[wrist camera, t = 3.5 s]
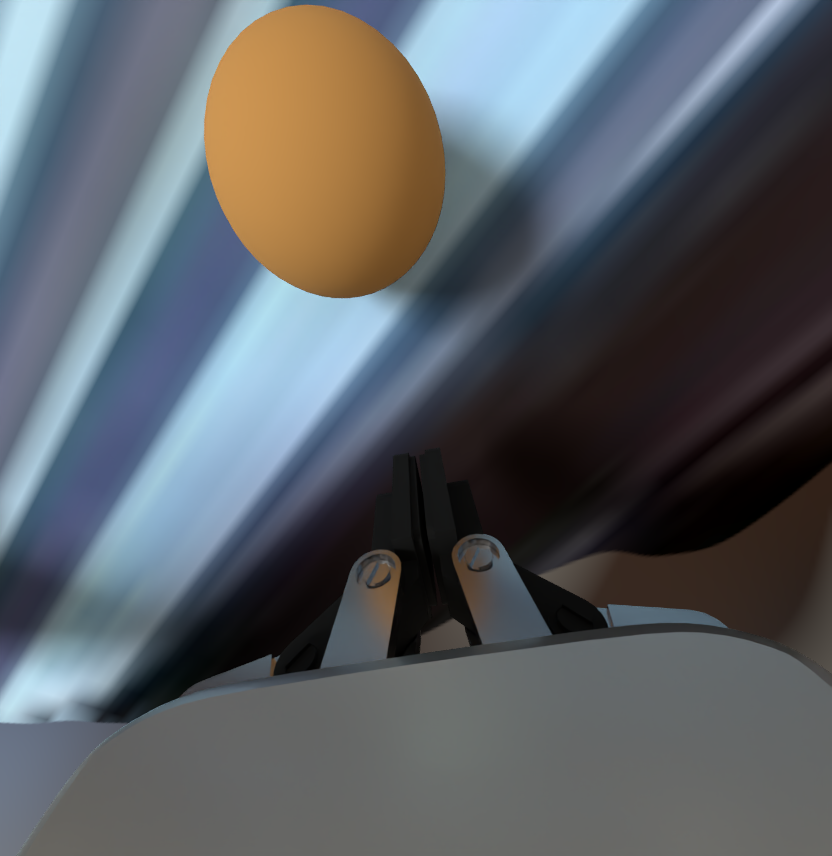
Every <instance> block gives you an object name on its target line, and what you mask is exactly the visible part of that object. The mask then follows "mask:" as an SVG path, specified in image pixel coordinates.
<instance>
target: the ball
mask: <svg viewBox="0 0 832 856" xmlns="http://www.w3.org/2000/svg"><path fill="white" fill-rule="evenodd" d="M204 140H205V150H206V159H207V164H208V169H209V173H210V178H211V181H212V184H213V187H214V190H215V193H216V196H217V198H218V201H219V203H220V205H221V208H222V210H223V212H224V214H225V216H226V217H227V219H228V221H229V223H230V225H231V226H232V228H233V230H234V232H235V233H236V234H237V236H238V237H239V239H240V240H241V241H242V243H243V244H244V246H245V247H246V248H247V249H248V250H249V251H250V252H251V254H252V255H253V256H254V257H255V258H256V259H257V260H258V261H259V262H260V263H261V264H262V265H263V266H265V267H266V268H267V269H268V270H269V271H271V272H272V273H273V274H275V275H276V276H277V277H279V278H280V279H282V280H284V281H286V282H287V283H289V284H291V285H293V286H295V287H297V288H299V289H302V290H304V291H306V292H309V293H312V294H316V295H319V296H324V297H331V298H353V297H361V296H364V295H368V294H372V293H374V292H377V291H379V290H381V289H384V288H386V287H387V286H389V285H391V284H392V283H394V282H396V281H397V280H398V279H399V278H401V277H402V276H403V275H404V274H405V273H407V272H408V271H409V269H410V268H411V267H412V266H413V265H414V264H415V263H416V262H417V260H418V259H419V258H420V256H421V255H422V254H423V252H424V251H425V249H426V247H427V245H428V243H429V242H430V240H431V238H432V236H433V233H434V231H435V228H436V226H437V223H438V219H439V216H440V212H441V208H442V203H443V197H444V190H445V157H444V149H443V143H442V137H441V133H440V129H439V125H438V122H437V118H436V114H435V112H434V109H433V106H432V104H431V101H430V99H429V96H428V94H427V92H426V90H425V88H424V86H423V84H422V83H421V81H420V79H419V77H418V75H417V74H416V72H415V71H414V70H413V68H412V67H411V65H410V64H409V62H408V61H407V59H406V58H405V57H404V56H403V55H402V54H401V53H400V51H399V50H398V49H397V48H396V47H395V46H394V45H393V44H392V43H391V42H390V41H389V40H388V39H386V38H385V37H384V36H383V35H382V34H381V33H380V32H378V31H377V30H376V29H374V28H373V27H371V26H370V25H368V24H366V23H365V22H363V21H362V20H360V19H359V18H356V17H354V16H352V15H350V14H348V13H345V12H343V11H340V10H336V9H333V8H329V7H325V6H315V5H299V6H290V7H286V8H282V9H279V10H276V11H273V12H270V13H268V14H267V15H265V16H263V17H261V18H259V19H257V20H256V21H254V22H253V23H252V24H251V25H249V26H248V27H247V28H246V29H244V30H243V31H242V32H241V33H240V34H239V35H238V37H237V38H236V39H235V40H234V41H233V42H232V44H231V45H230V46H229V47H228V49H227V51H226V52H225V54H224V56H223V57H222V59H221V61H220V62H219V65H218V67H217V69H216V72H215V74H214V77H213V79H212V82H211V86H210V90H209V94H208V97H207V103H206V111H205V121H204Z"/></svg>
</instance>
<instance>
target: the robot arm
mask: <svg viewBox="0 0 832 856" xmlns="http://www.w3.org/2000/svg"><path fill="white" fill-rule="evenodd" d="M420 466H421V477H422V486H421V482H420V477H419V472H418V468H417V463H416V458H415V456H412V457H409V453H406V454H400V455H395V456H393V484H392V493H386V494H381V495H377V498H376V508H375V519H374V530H373V541H372V551H371V552H369V553H366V554H365V555H363V556H362V557H360V558H359V559H358V560H357V561H356V563H355V564H354V565H353V567H352V569H351V571H350V574H349V578H348V581H347V584H346V587H345V590H344V594H342V595H341V596H340V597H339V598H338V599H337V600H336V601H335V602H334V603H333V604H332V605H331V606H330V607H329V608H328V609H326V610H325V611H324V612H323V613H322V614H321V615H320V616H319V617H318V618H317V619H316V620H315V621H314V622H313V623H311V624H310V625H309V626H308V627H307V628H306V629H305V630H304V631H303V632H302V633H301V634H300V635H299V636H298V637H297V638H295V639H294V640H293V641H292V642H291V643H290V644H289V645H288V646H287V647H286V649H285V650H284V651H283V652H282V653H281V655H280V656H278V657H275V658H274V657H273V656H272V654H271V655H269V656H266V657H264V658H261V659H258V660H256V661H253V662H251V663H248V664H245V665H243V666H240V667H238V668H235V669H232V670H230V671H227V672H225V673H222V674H220V675H217V676H214V677H212V678H209V679H207V680H204V681H201V682H199V683H197V684H196V685H194V686H192V687H190V688H189V689H188V690H187V691H186V692H185V693H183V694H182V695H181V696H180V697H179V698H178V699H176V700H173V701H171V702H169V703H166V704H164V705H162V706H159V707H157V708H155V709H154V710H152V711H150V712H148V713H146V714H144V715H142V716H141V717H139V718H137V719H135V720H133V721H132V722H130V723H129V724H127V725H126V726H124V727H122V728H121V729H119V730H118V731H117V732H115V733H114V734H112V735H111V736H110V737H108V738H107V739H106V740H104V741H103V742H102V743H101V744H100V745H99V746H98V747H97V748H96V749H94V750H93V751H92V753H90V755H89V756H88V757H87V758H86V759H85V760H84V761H83V762H82V763H81V764H80V766H79V767H78V768H77V770H76V771H75V772H74V773H73V774H72V776H71V777H70V778H69V780H68V781H67V782H66V784H65V785H64V786H63V788H62V789H61V790H60V792H59V793H58V794H57V796H56V797H55V799H54V801H53V802H52V803H51V805H50V806H49V808H48V809H47V811H46V812H45V813H44V815H43V816H42V818H41V819H40V821H39V822H38V824H37V825H36V826H35V828H34V829H33V831H32V832H31V834H30V836H29V837H28V839H27V840H26V842H25V843H24V845H23V846H22V848H21V849H20V851H19V852H18V854H17V856H832V674H831V673H830V672H829V671H827V670H826V669H824V668H823V667H821V666H820V665H819V664H817V663H816V662H814V661H813V660H811V659H810V658H808V657H806V656H805V655H803V654H802V653H800V652H798V651H796V650H794V649H792V648H790V647H788V646H785V645H783V644H781V643H778V642H776V641H773V640H770V639H767V638H764V637H761V636H757V635H754V634H750V633H747V632H742V631H738V630H733V629H729V628H728V627H726V626H725V625H724V624H722V623H721V622H720V621H719V620H717V619H716V618H713V617H711V616H709V615H707V614H705V613H702V612H698V611H693V610H682V609H668V608H667V609H666V608H653V607H639V606H624V605H609V604H608V606H607V609H606V608H596V607H595V606H594V605H592V604H591V603H589V602H588V601H586V600H584V599H582V598H580V597H579V596H577V595H575V594H573V593H571V592H569V591H567V590H565V589H562V588H561V587H559V586H557V585H555V584H553V583H551V582H549V581H547V580H545V579H543V578H541V577H540V576H538V575H536V574H534V573H532V572H530V571H528V570H526V569H524V568H522V567H520V566H518V565H516V564H514V563H512V561H511V559H510V558H509V556H508V554H507V552H506V550H505V549H504V547H503V546H502V544H501V543H500V542H499V541H498V540H496V539H495V538H493V537H491V536H488V535H484V534H483V531H482V528H481V524H480V521H479V517H478V514H477V510H476V507H475V504H474V500H473V497H472V493H471V490H470V486H469V483H468V480H464V481H458V482H452V483H446V478H445V473H444V468H443V463H442V458H441V453H440V448H435V449H429V450H425V454H424V455H420ZM422 487H423V491H422ZM432 559H433V560H432ZM433 564H434V568H435V573H436V577H437V582H438V586H439V591H440V595H441V600H442V604H448V606H449V611H450V616H451V617H453V618H454V619H455V620H457V621H458V622H460V623H461V624H463V625H464V626H465V632H466V635H467V638H468V641H469V644H470V647H464V648H457V649H451V650H443V651H436V652H429V653H423V654H420V645H421V632H420V630H421V628H422V627H423V626H424V625H425V623H426V622H427V621H428V620H429V618H432V614H431V606H435V605H437V598H436V588H435V579H434V569H433Z"/></svg>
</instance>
